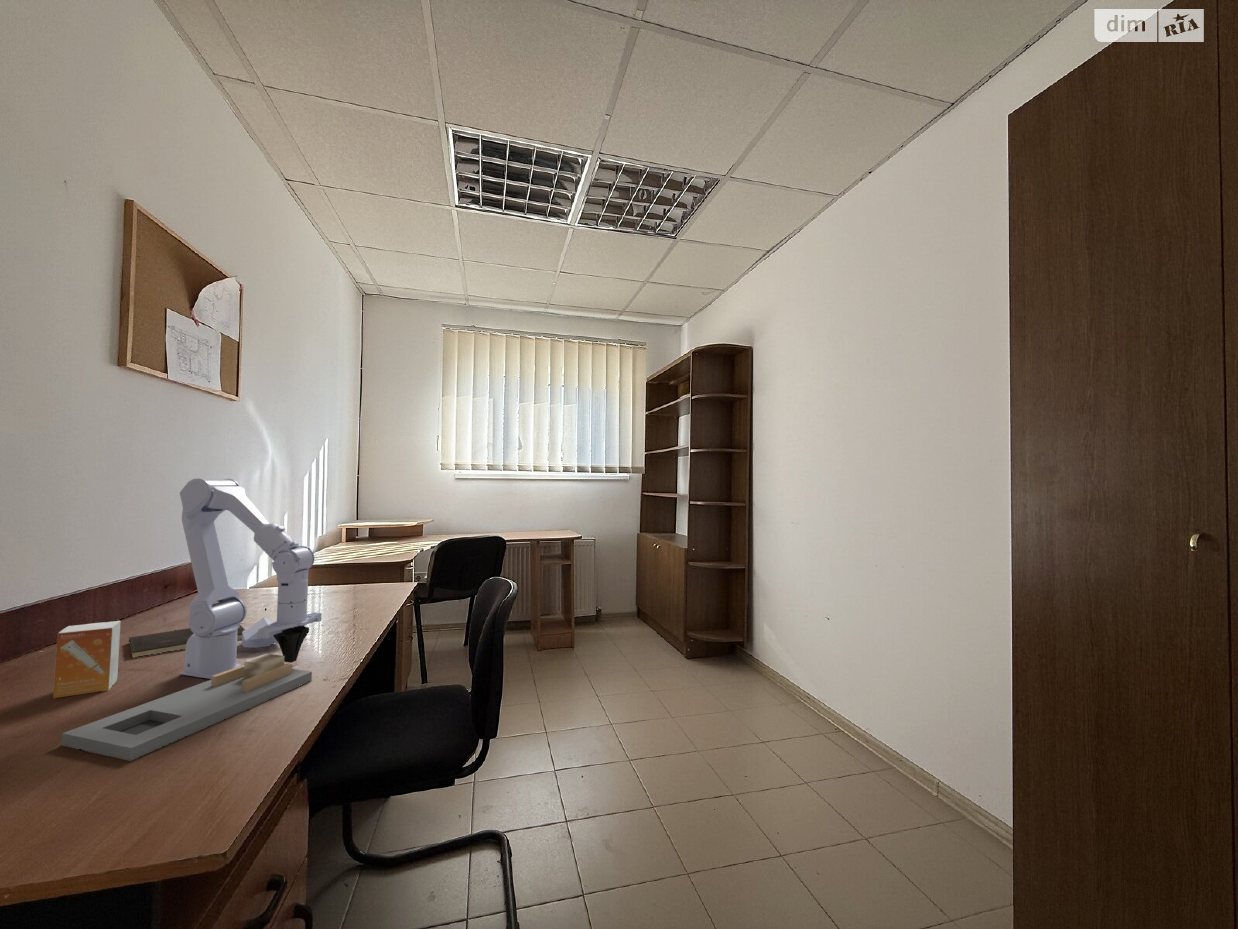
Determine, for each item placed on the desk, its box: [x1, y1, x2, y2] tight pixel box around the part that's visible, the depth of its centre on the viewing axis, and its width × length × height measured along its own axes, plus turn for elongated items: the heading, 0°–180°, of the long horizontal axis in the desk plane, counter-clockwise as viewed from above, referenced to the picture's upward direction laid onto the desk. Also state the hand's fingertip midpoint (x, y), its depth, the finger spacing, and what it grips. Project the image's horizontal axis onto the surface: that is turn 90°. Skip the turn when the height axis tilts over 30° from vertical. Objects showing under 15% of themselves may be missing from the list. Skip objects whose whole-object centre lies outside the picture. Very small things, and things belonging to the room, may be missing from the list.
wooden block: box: [244, 653, 285, 679], centre depth 108 cm, size 5×5×4 cm
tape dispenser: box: [241, 616, 278, 648], centre depth 134 cm, size 9×7×13 cm
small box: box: [52, 620, 121, 699], centre depth 104 cm, size 8×6×13 cm
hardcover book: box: [128, 624, 246, 658], centre depth 135 cm, size 16×23×2 cm
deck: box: [61, 662, 313, 762], centre depth 96 cm, size 16×33×4 cm, turn 165°
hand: (290, 661), depth 114 cm, fingers closed
